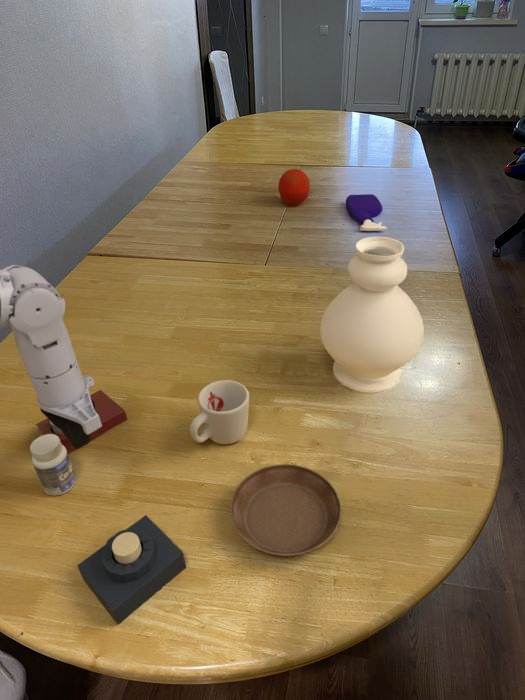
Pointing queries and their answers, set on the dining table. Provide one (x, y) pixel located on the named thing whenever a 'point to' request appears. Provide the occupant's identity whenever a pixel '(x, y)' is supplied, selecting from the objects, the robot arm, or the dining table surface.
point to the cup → (222, 412)
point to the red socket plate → (107, 413)
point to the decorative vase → (373, 320)
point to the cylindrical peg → (126, 548)
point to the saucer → (285, 509)
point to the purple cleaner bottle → (365, 211)
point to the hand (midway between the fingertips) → (81, 443)
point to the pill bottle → (52, 465)
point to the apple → (294, 187)
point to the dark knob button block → (132, 570)
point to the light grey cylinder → (56, 429)
